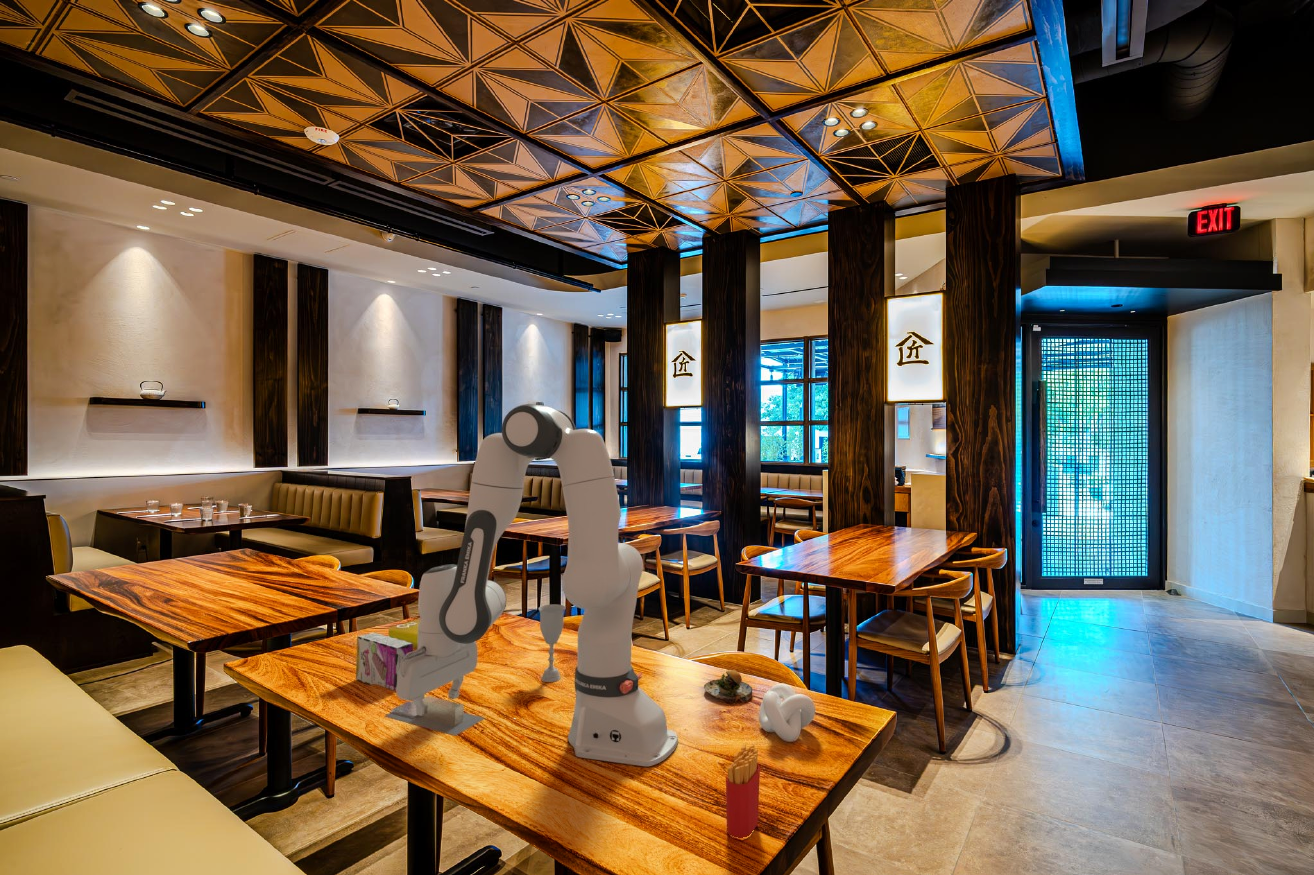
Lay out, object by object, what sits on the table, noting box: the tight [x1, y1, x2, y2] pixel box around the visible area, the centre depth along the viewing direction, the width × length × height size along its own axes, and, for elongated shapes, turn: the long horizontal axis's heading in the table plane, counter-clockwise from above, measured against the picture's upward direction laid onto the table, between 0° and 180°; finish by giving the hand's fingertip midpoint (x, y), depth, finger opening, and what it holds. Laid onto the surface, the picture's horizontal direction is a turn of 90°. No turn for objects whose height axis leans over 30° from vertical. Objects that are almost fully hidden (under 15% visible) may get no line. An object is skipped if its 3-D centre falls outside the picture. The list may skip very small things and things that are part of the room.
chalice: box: [538, 603, 566, 683], centre depth 159 cm, size 7×7×18 cm
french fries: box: [725, 744, 761, 838], centre depth 98 cm, size 8×4×12 cm, turn 151°
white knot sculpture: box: [758, 683, 816, 743], centre depth 130 cm, size 11×12×9 cm
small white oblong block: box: [390, 695, 464, 726], centre depth 134 cm, size 17×5×4 cm, turn 65°
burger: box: [703, 665, 753, 705], centre depth 151 cm, size 12×12×8 cm
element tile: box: [388, 618, 420, 650], centre depth 190 cm, size 15×15×5 cm
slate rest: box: [384, 712, 486, 737], centre depth 134 cm, size 20×9×1 cm, turn 65°
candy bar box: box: [355, 631, 414, 692], centre depth 154 cm, size 11×5×16 cm
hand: (438, 705), depth 133 cm, fingers open, 8 cm apart
